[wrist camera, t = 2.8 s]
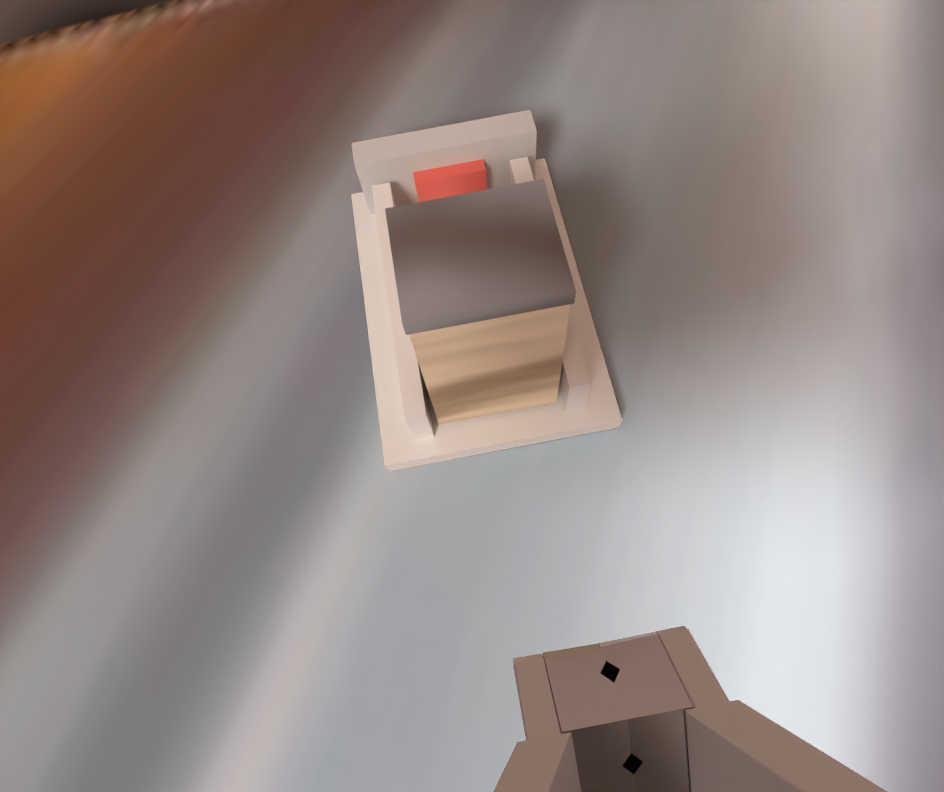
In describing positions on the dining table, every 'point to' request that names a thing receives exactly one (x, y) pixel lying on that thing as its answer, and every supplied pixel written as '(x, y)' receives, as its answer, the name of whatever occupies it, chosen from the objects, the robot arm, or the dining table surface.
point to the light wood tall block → (483, 297)
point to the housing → (393, 357)
